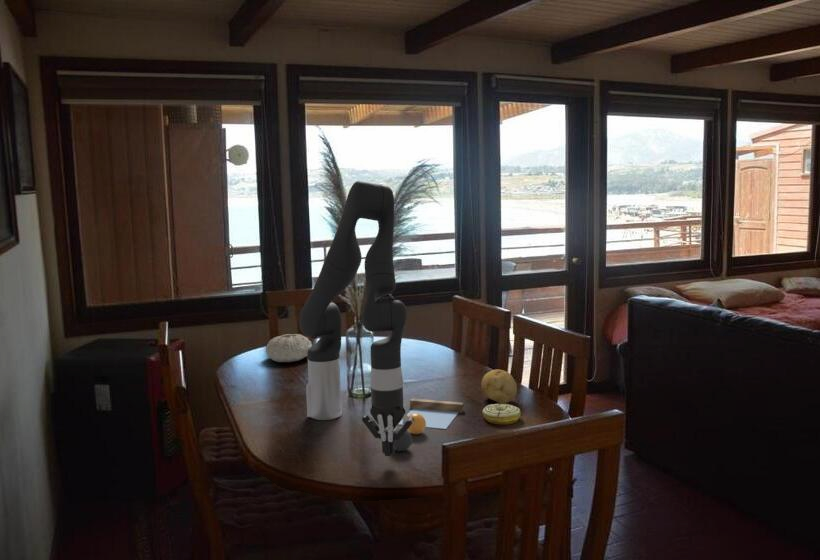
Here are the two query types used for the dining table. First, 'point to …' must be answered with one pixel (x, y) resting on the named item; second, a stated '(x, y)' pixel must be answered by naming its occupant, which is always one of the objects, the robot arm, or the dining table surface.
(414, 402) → the oak rail
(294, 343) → the decorative shell
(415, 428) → the orange ball
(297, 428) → the dining table surface
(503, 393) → the potato
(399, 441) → the dark gray ball
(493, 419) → the decorated donut
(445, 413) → the light blue square plate
